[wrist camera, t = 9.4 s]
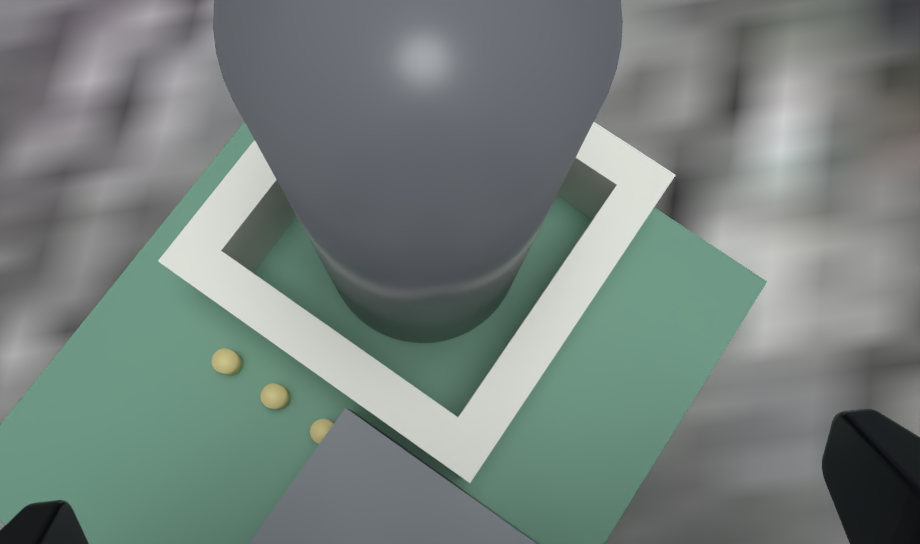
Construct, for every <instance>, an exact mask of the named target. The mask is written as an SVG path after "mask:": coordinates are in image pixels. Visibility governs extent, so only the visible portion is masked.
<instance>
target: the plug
mask: <svg viewBox="0 0 920 544" xmlns="http://www.w3.org/2000/svg"><path fill="white" fill-rule="evenodd" d="M622 22H623V21H622V10H621V0H214V19H213V30H214V38H215V47H216V54H217V57H218V61H219V65H220V69H221V72H222V76H223V79H224V81H225V83H226V86H227V88H228V90H229V92H230V95H231V97H232V99H233V101H234V103H235V105H236V107H237V109H238V111H239V112H240V114H241V116H242V118H243V120H244V121H245V123H246V125H247V127H248V129H249V131H250V132H251V134H252V136H253V138H254V140H255V141H256V143H257V145H258V147H259V149H260V151H261V152H262V154H263V156H264V158H265V160H266V161H267V163H268V165H269V167H270V169H271V170H272V172H273V174H274V176H275V178H276V180H277V181H278V183H279V185H280V187H281V189H282V190H283V192H284V194H285V196H286V198H287V200H288V201H289V203H290V205H291V207H292V209H293V210H294V212H295V214H296V216H297V218H298V220H299V221H300V223H301V225H302V227H303V229H304V230H305V232H306V234H307V236H308V238H309V240H310V241H311V243H312V245H313V247H314V249H315V250H316V252H317V254H318V256H319V258H320V260H321V261H322V263H323V265H324V267H325V269H326V270H327V272H328V274H329V276H330V278H331V279H332V281H333V283H334V285H335V287H336V289H337V290H338V292H339V294H340V296H341V297H342V299H343V300H344V302H345V304H346V305H347V306H348V307H349V308H350V310H351V311H352V312H353V313H354V314H355V315H356V316H357V317H358V318H359V319H360V320H361V321H362V322H364V323H365V324H367V325H368V326H369V327H371V328H372V329H374V330H376V331H378V332H380V333H381V334H383V335H386V336H389V337H391V338H394V339H398V340H402V341H406V342H415V343H434V342H440V341H446V340H449V339H452V338H455V337H458V336H461V335H463V334H465V333H467V332H469V331H471V330H472V329H474V328H476V327H477V326H479V325H480V324H482V323H483V322H484V321H485V320H486V319H488V318H489V317H490V316H491V315H492V314H493V313H494V311H495V310H496V309H497V308H498V307H499V305H500V304H501V303H502V301H503V300H504V298H505V297H506V295H507V293H508V291H509V289H510V287H511V285H512V283H513V281H514V279H515V277H516V275H517V273H518V271H519V269H520V267H521V265H522V263H523V261H524V259H525V257H526V255H527V253H528V251H529V249H530V247H531V245H532V243H533V241H534V239H535V237H536V235H537V233H538V231H539V229H540V227H541V225H542V223H543V221H544V219H545V217H546V215H547V213H548V211H549V210H550V208H551V206H552V204H553V202H554V200H555V198H556V196H557V194H558V192H559V190H560V188H561V186H562V184H563V182H564V180H565V178H566V176H567V174H568V172H569V170H570V168H571V166H572V164H573V162H574V160H575V158H576V156H577V154H578V152H579V150H580V148H581V146H582V144H583V142H584V140H585V138H586V136H587V134H588V132H589V130H590V128H591V126H592V124H593V122H594V120H595V118H596V116H597V114H598V112H599V110H600V108H601V106H602V104H603V102H604V100H605V98H606V96H607V94H608V92H609V89H610V86H611V84H612V81H613V78H614V75H615V72H616V69H617V64H618V59H619V54H620V49H621V41H622Z"/></svg>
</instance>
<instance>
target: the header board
mask: <svg viewBox="0 0 920 544" xmlns="http://www.w3.org/2000/svg"><path fill="white" fill-rule="evenodd" d="M674 177H675V174H673V173H672V172H670V171H669V170H667V169H666V168H664V167H662V166H661V165H659V164H658V163H656V162H655V161H653V160H652V159H650V158H649V157H647V156H646V155H644V154H643V153H641V152H639V151H638V150H636V149H635V148H633V147H632V146H630V145H629V144H627V143H626V142H624V141H623V140H621V139H620V138H618V137H616V136H615V135H613V134H612V133H610V132H609V131H607V130H606V129H604V128H603V127H601V126H600V125H598V124H597V123H595V122H593V124H592V126H591V128H590V130H589V132H588V134H587V136H586V138H585V140H584V142H583V144H582V146H581V148H580V150H579V152H578V154H577V156H576V158H575V160H574V162H573V164H572V166H571V168H570V170H569V172H568V174H567V176H566V178H565V180H564V182H563V184H562V186H561V188H560V190H559V192H558V194H557V196H556V198H555V200H554V202H553V204H552V206H551V208H550V210H549V211H548V213H547V215H546V217H545V219H544V221H543V223H542V225H541V227H540V229H539V231H538V233H537V235H536V237H535V239H534V241H533V243H532V245H531V247H530V249H529V251H528V253H527V255H526V257H525V259H524V261H523V263H522V265H521V267H520V269H519V271H518V273H517V275H516V277H515V279H514V281H513V283H512V285H511V287H510V289H509V291H508V293H507V295H506V297H505V298H504V300H503V301H502V303H501V304H500V305H499V307H498V308H497V309H496V310H495V311H494V313H493V314H492V315H491V316H490V317H489V318H488V319H486V320H485V321H484V322H483V323H482V324H480V325H479V326H477V327H476V328H474V329H472V330H471V331H469V332H467V333H465V334H463V335H461V336H458V337H455V338H452V339H449V340H446V341H440V342H434V343H415V342H406V341H402V340H398V339H394V338H391V337H389V336H386V335H383V334H381V333H380V332H378V331H376V330H374V329H372V328H371V327H369V326H368V325H367V324H365V323H364V322H362V321H361V320H360V319H359V318H358V317H357V316H356V315H355V314H354V313H353V312H352V311H351V310H350V308H349V307H348V306H347V305H346V304H345V302H344V300H343V299H342V297H341V296H340V294H339V292H338V290H337V289H336V287H335V285H334V283H333V281H332V279H331V278H330V276H329V274H328V272H327V270H326V269H325V267H324V265H323V263H322V261H321V260H320V258H319V256H318V254H317V252H316V250H315V249H314V247H313V245H312V243H311V241H310V240H309V238H308V236H307V234H306V232H305V230H304V229H303V227H302V225H301V223H300V221H299V220H298V218H297V216H296V214H295V212H294V210H293V209H292V207H291V205H290V203H289V201H288V200H287V198H286V196H285V194H284V192H283V190H282V189H281V187H280V185H279V183H278V181H277V180H276V178H275V176H274V174H273V172H272V170H271V169H270V167H269V165H268V163H267V161H266V160H265V158H264V156H263V154H262V152H261V151H260V149H259V147H258V145H257V143H256V141H255V140H254V138H253V136H252V134H251V132H250V131H249V129H248V127H247V125H246V123H245V122H244V123H243V124H242V126H241V127H240V128H239V129H238V130H237V132H236V133H235V134H234V135H233V137H232V138H231V139H230V140H229V142H228V143H227V144H226V145H225V147H224V148H223V149H222V150H221V152H220V153H219V154H218V155H217V157H216V158H215V159H214V160H213V161H212V163H211V164H210V165H209V166H208V168H207V169H206V170H205V171H204V173H203V174H202V175H201V176H200V178H199V179H198V180H197V181H196V183H195V184H194V185H193V186H192V188H191V189H190V190H189V191H188V193H187V194H186V195H185V196H184V197H183V199H182V200H181V201H180V202H179V204H178V205H177V206H176V207H175V209H174V210H173V211H172V212H171V214H170V215H169V216H168V217H167V219H166V220H165V221H164V222H163V224H162V225H161V226H160V227H159V229H158V230H157V231H156V232H155V233H154V235H153V236H152V237H151V238H150V240H149V241H148V242H147V243H146V245H145V246H144V247H143V248H142V250H141V251H140V252H139V253H138V255H137V256H136V257H135V258H134V260H133V261H132V262H131V263H130V264H129V266H128V267H127V268H126V269H125V271H124V272H123V273H122V274H121V276H120V277H119V278H118V279H117V281H116V282H115V283H114V284H113V286H112V287H111V288H110V289H109V291H108V292H107V293H106V294H105V296H104V297H103V298H102V299H101V300H100V302H99V303H98V304H97V305H96V307H95V308H94V309H93V310H92V312H91V313H90V314H89V315H88V317H87V318H86V319H85V320H84V322H83V323H82V324H81V325H80V327H79V328H78V329H77V330H76V331H75V333H74V334H73V335H72V336H71V338H70V339H69V340H68V341H67V343H66V344H65V345H64V346H63V348H62V349H61V350H60V351H59V353H58V354H57V355H56V356H55V358H54V359H53V360H52V361H51V363H50V364H49V365H48V366H47V367H46V369H45V370H44V371H43V372H42V374H41V375H40V376H39V377H38V379H37V380H36V381H35V382H34V384H33V385H32V386H31V387H30V389H29V390H28V391H27V392H26V394H25V395H24V396H23V397H22V399H21V400H20V401H19V402H18V403H17V405H16V406H15V407H14V408H13V410H12V411H11V412H10V413H9V415H8V416H7V417H6V418H5V420H4V421H3V422H2V423H1V425H0V521H1V522H3V523H4V524H5V525H6V524H7V523H8V522H9V521H10V520H11V519H12V518H13V517H14V516H15V515H17V514H18V513H19V512H20V511H21V510H22V509H23V508H24V507H26V506H27V505H29V504H32V503H37V502H45V501H54V500H65V501H67V502H68V503H69V504H70V505H71V507H72V508H73V510H74V512H75V515H76V517H77V519H78V521H79V523H80V525H81V527H82V530H83V532H84V534H85V536H86V538H87V540H88V543H89V544H604V543H605V542H606V540H607V539H608V537H609V535H610V534H611V532H612V531H613V529H614V527H615V526H616V524H617V522H618V521H619V519H620V518H621V516H622V514H623V513H624V511H625V510H626V508H627V506H628V505H629V503H630V502H631V500H632V498H633V497H634V495H635V493H636V492H637V490H638V489H639V487H640V485H641V484H642V482H643V481H644V479H645V477H646V476H647V474H648V473H649V471H650V469H651V468H652V466H653V464H654V463H655V461H656V460H657V458H658V456H659V455H660V453H661V452H662V450H663V448H664V447H665V445H666V444H667V442H668V440H669V439H670V437H671V435H672V434H673V432H674V431H675V429H676V427H677V426H678V424H679V423H680V421H681V419H682V418H683V416H684V414H685V413H686V411H687V410H688V408H689V406H690V405H691V403H692V402H693V400H694V398H695V397H696V395H697V394H698V392H699V390H700V389H701V387H702V385H703V384H704V382H705V381H706V379H707V377H708V376H709V374H710V373H711V371H712V369H713V368H714V366H715V365H716V363H717V361H718V360H719V358H720V356H721V355H722V353H723V352H724V350H725V348H726V347H727V345H728V344H729V342H730V340H731V339H732V337H733V336H734V334H735V332H736V331H737V329H738V327H739V326H740V324H741V323H742V321H743V319H744V318H745V316H746V315H747V313H748V311H749V310H750V308H751V307H752V305H753V303H754V302H755V300H756V298H757V297H758V295H759V294H760V292H761V290H762V289H763V287H764V286H765V284H766V282H767V281H765V280H764V279H762V278H761V277H759V276H758V275H756V274H755V273H753V272H752V271H750V270H749V269H747V268H745V267H744V266H742V265H741V264H739V263H738V262H736V261H735V260H733V259H732V258H730V257H729V256H727V255H726V254H724V253H723V252H721V251H720V250H718V249H717V248H715V247H714V246H712V245H711V244H709V243H707V242H706V241H704V240H703V239H701V238H700V237H698V236H697V235H695V234H694V233H692V232H691V231H689V230H688V229H686V228H685V227H683V226H682V225H680V224H679V223H677V222H676V221H674V220H673V219H671V218H670V217H668V216H666V215H665V214H663V213H662V212H660V211H659V210H657V209H656V208H654V207H655V205H656V204H657V202H658V201H659V199H660V198H661V196H662V195H663V193H664V192H665V190H666V189H667V187H668V186H669V184H670V183H671V181H672V180H673V178H674Z"/></svg>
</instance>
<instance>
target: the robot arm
mask: <svg viewBox="0 0 920 544" xmlns="http://www.w3.org/2000/svg"><path fill="white" fill-rule="evenodd" d="M822 471H823V476H824V479H825V482H826V485H827V487H828V490H829V492H830V495H831V497H832V500H833V502H834V505H835V507H836V510H837V512H838V515H839V518H840V520H841V523H842V525H843V528H844V530H845V533H846V535H847V538H848V540H849V543H850V544H920V437H918V436H917V435H915V434H914V433H912V432H910V431H909V430H907V429H905V428H904V427H902V426H900V425H899V424H897V423H896V422H894V421H892V420H891V419H889V418H887V417H886V416H884V415H882V414H881V413H879V412H877V411H875V410H872V409H860V410H851V411H842V412H839V413H838V414H837V415H836V416H835V417H834V419H833V421H832V425H831V428H830V432H829V436H828V440H827V443H826V447H825V451H824V454H823V459H822ZM0 544H89V543H88V540H87V538H86V536H85V534H84V532H83V530H82V527H81V525H80V523H79V521H78V519H77V517H76V515H75V512H74V510H73V508H72V507H71V505H70V504H69V503H68V502H67V501H65V500H54V501H45V502H37V503H32V504H29V505H27V506H26V507H24V508H23V509H22V510H21V511H20V512H19V513H18V514H17V515H15V516H14V517H13V518H12V519H11V520H10V521H9V522H8V523H7V524H6V525H5V526H4V527H3V528H2V529H1V530H0Z"/></svg>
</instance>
